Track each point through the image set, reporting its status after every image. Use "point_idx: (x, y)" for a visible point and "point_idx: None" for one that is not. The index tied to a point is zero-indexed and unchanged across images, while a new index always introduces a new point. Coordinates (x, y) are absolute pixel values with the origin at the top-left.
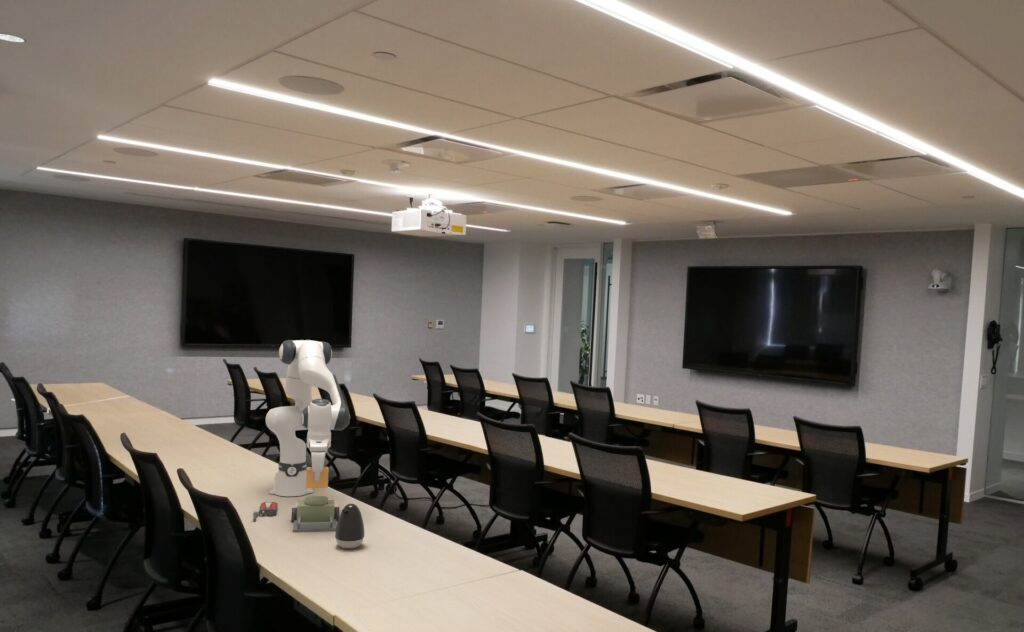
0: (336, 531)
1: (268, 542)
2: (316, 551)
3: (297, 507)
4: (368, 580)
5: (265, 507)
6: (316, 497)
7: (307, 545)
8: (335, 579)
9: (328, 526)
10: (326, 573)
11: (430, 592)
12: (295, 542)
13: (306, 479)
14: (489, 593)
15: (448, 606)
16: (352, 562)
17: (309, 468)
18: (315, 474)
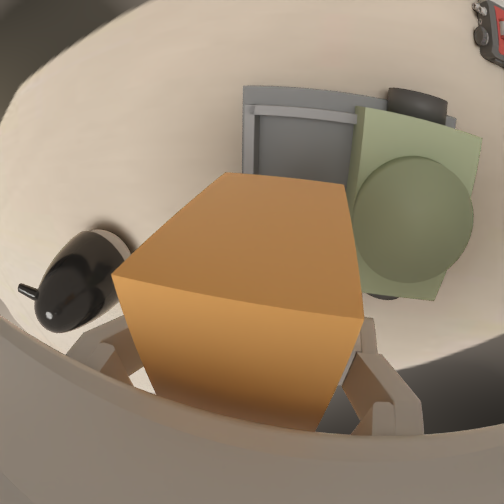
0: (70, 241)
1: (144, 27)
2: (79, 174)
3: (365, 109)
4: (14, 250)
5: (501, 19)
6: (443, 232)
7: (113, 147)
8: (5, 208)
9: None
10: (13, 196)
11: (18, 301)
12: (136, 108)
13: (189, 206)
14: None
15: (7, 302)
16: (49, 242)
17: (215, 337)
18: (116, 325)
